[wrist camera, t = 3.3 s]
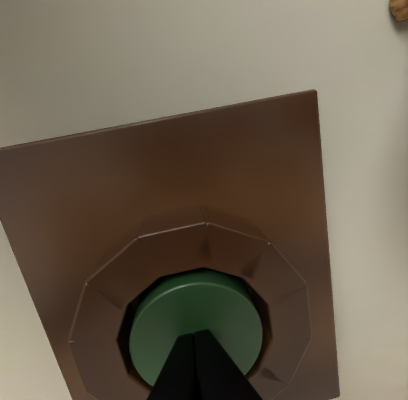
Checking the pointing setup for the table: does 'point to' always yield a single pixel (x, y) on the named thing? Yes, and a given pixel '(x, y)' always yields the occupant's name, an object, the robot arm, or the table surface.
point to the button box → (178, 236)
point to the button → (194, 318)
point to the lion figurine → (399, 9)
